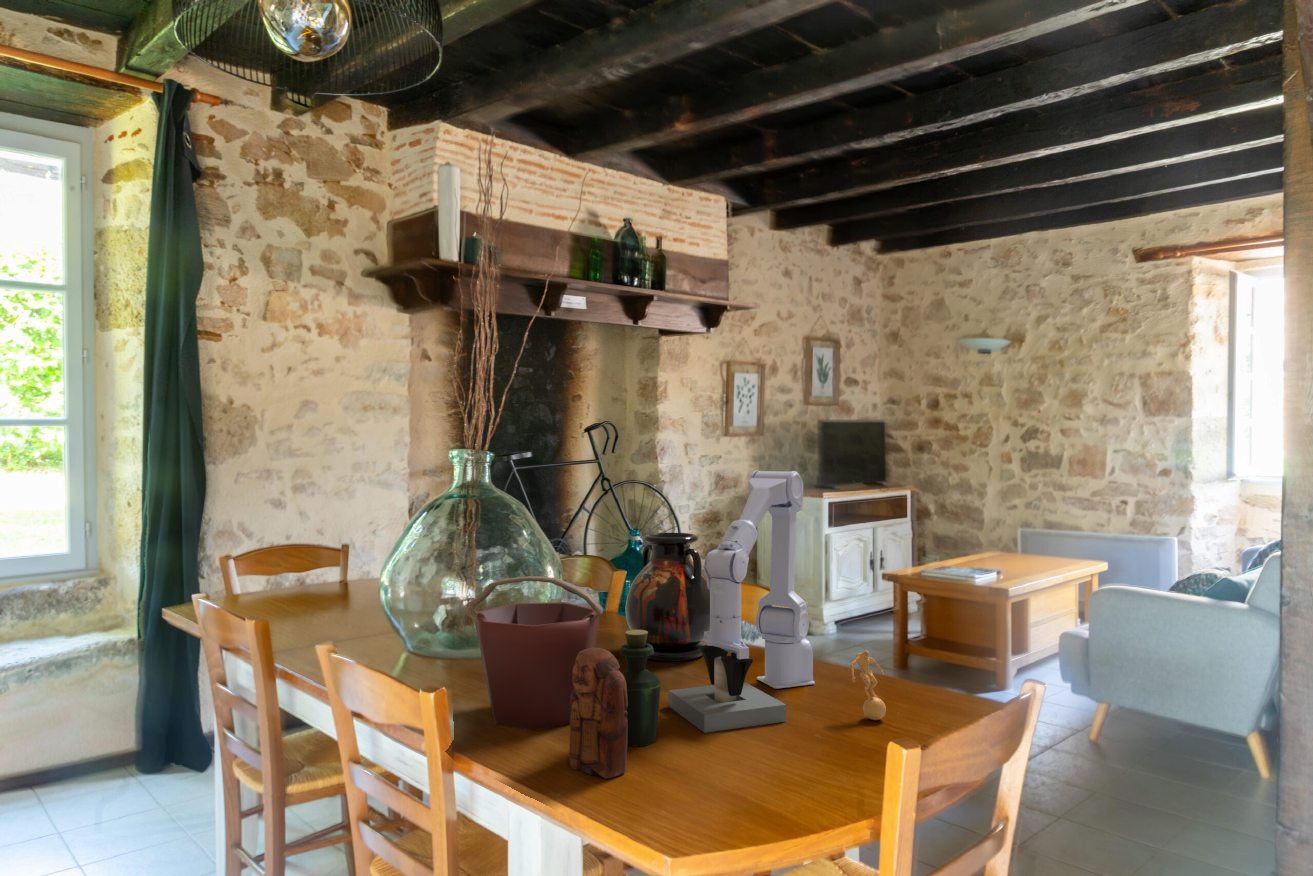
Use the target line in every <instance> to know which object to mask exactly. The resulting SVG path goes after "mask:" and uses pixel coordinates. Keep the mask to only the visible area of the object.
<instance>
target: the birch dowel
mask: <svg viewBox="0 0 1313 876" xmlns="http://www.w3.org/2000/svg"><path fill="white" fill-rule="evenodd" d="M714 701H716V702H717V703H725V702H733V701H736V696H730V695H729V692H728V686H727V676H726V672H725V668H724V665H723V663H722V660H721V657H716V658H715V659H714Z"/></svg>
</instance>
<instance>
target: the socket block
mask: <svg viewBox="0 0 1313 876" xmlns="http://www.w3.org/2000/svg"><path fill="white" fill-rule="evenodd" d="M668 707H669V708H670V709H671V710H673V711H674V712H676V713H677V714H678V715H680V716H681V717H683V718H684V719H685V720H686V721H688V722H690V723H691V724H692V725H694V726H695V727H696V728H697V729H699V730H700V731H701V732H703V733H704V734H707V733H714V732H720V731H726V730H734V729H735V730H736V729H740V728H741V729H742V728H749V727H754V726H755V727H756V726H763V725H771V724H777V723H785V722H787V705H786V703H784V702H782V701H780V700H779V699H777V698H775V697H773V696H771V695H769V694H768V693H765V691H762V690H761V689H758V687H755V686H753V685H751V684H749V683H747V682H745V681H744V685H743V689H742V693H741V695H738V696H736V701H733V702H725V703H717V702H716V701H714V685H712V684H711V685H705V686H704V685H703V686H694V687H686V688H679V689H678V688H676V689H669V690H668Z"/></svg>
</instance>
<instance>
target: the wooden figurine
mask: <svg viewBox="0 0 1313 876" xmlns="http://www.w3.org/2000/svg"><path fill="white" fill-rule="evenodd" d="M620 668H621V666H620V663H619V660H618V659H617V658H616V657H615V655H614V654H613V653H611V652H610V651H609V650H608V649H607V650H606V649H605V648H601V647H595V648H588V649H585V650H582V651H581V652H579V653H578V655H577V657H576V660H575V665H574V667H573V677H572V681H573V686H574V689H573V691H572V693H571V697H570V708H571V712H570V724H569V757H568V758H569V765H570V767H571V769H573V770H574V771H575V770H576V771H578V770H579V771H581V772H582V773H586V774H587V775H589V776H596V775H599V776H600V777H602V778H603V779H613V778H614V777H618V776H620V775H622V774H624V773H626V771H627V760H628V758H627V757H628V745H627V742H628V741H627V733H628V721H627V717H626V716H627V714H628V712H627V711H626V710H627V708H628V698H627V686H626V680H625V678H624V676H623V674H622V672H621V671H620V670H619V669H620Z"/></svg>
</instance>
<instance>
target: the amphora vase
mask: <svg viewBox="0 0 1313 876" xmlns="http://www.w3.org/2000/svg"><path fill="white" fill-rule="evenodd" d="M643 540H644V542H646V543H648V544H646V545H645V546H644V549H643V551H642V556H641V570H640V572H639V573H638V574H637V575H636V576H635V578H634V579H633V580H632V583H631V585H630V587H629V589H628V593H627V594H626V595H627V596H626V601H625V608H624V609H625V620H626V622H627V625H628V628H629V629H630V630H645V631H648V635H647V640H646V643H647V644H651V645H652V647H653V650H654V654H652V655H650V656H648V658H647V660H653V661H660V662H682V661H690V660H694V659H698V658H699V657H701V656H703V655H702V653H701V651H700V646H704V645H705V644H704V632H707V631H710V590H709V589H708V587H707V579H706V577H705V574H704V572H702V568H703V567H702V557H701V556H700V554H699V551H697V550H696V549H695V548H691V545H693V544H695V543H696V542H698V541H699V537H698V536H697V535H696V534H693V533H688V532H687V533H686V532H655V533H653V532H652V533H648V534H646V535H644V536H643ZM651 552H652V555H651Z"/></svg>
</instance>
